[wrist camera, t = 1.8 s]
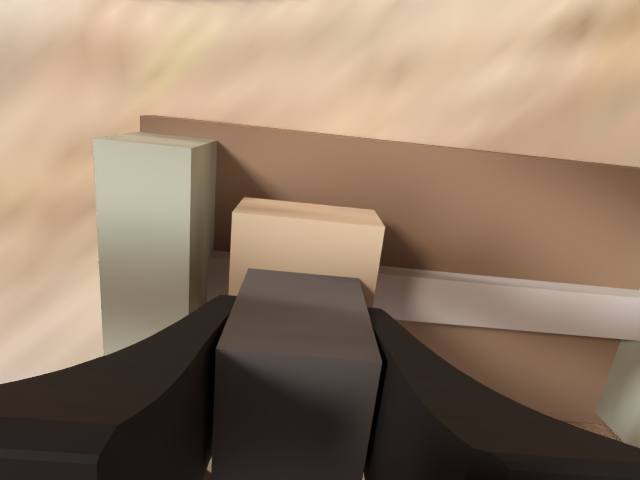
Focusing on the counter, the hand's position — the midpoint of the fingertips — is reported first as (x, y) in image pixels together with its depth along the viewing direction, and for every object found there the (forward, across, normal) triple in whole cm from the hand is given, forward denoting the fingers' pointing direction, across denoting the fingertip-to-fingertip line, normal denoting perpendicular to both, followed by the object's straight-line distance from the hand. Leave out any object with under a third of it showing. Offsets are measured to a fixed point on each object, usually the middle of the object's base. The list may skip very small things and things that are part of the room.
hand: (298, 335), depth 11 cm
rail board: (+5, -4, 0) cm, 7 cm away
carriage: (+3, 0, 0) cm, 3 cm away
